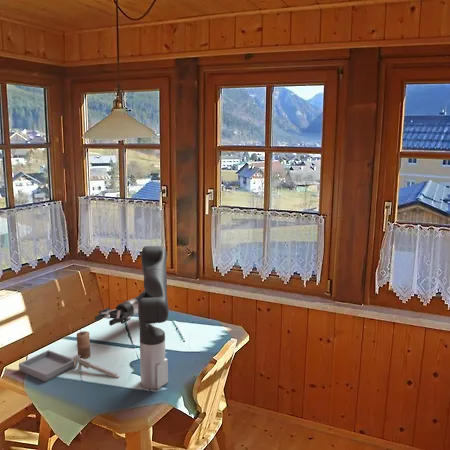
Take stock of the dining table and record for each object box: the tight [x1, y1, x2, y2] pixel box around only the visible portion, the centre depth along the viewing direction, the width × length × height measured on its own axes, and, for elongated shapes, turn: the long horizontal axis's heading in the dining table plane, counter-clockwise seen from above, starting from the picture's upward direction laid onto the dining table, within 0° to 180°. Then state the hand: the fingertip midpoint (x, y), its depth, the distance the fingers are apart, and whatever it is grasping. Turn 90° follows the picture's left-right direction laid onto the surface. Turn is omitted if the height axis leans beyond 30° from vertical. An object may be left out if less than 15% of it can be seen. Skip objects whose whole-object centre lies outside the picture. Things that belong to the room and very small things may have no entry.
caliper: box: [73, 353, 120, 379], centre depth 185 cm, size 20×1×6 cm, turn 70°
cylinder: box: [76, 330, 91, 360], centre depth 198 cm, size 5×5×10 cm
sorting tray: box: [18, 349, 75, 383], centre depth 188 cm, size 16×14×3 cm
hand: (102, 321), depth 206 cm, fingers open, 8 cm apart
